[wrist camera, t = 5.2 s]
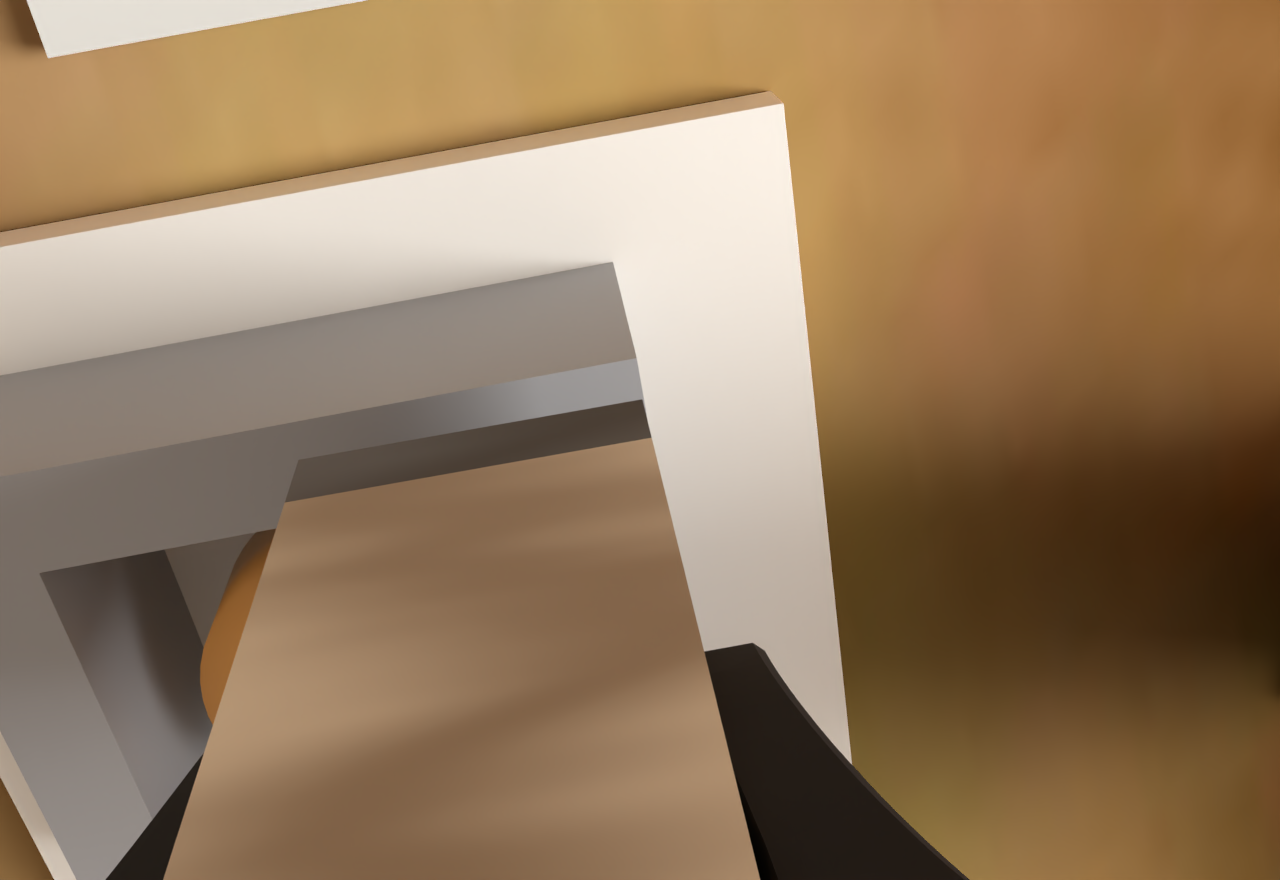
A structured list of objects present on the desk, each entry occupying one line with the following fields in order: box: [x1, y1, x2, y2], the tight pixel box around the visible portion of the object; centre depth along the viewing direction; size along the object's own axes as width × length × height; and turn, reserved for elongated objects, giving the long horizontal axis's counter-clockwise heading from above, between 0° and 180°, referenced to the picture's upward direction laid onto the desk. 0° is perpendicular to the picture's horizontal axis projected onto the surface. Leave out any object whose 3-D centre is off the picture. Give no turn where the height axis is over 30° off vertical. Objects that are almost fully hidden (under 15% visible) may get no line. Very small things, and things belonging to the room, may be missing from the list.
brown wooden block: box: [163, 399, 760, 880], centre depth 11 cm, size 4×4×9 cm
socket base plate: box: [0, 91, 852, 880], centre depth 20 cm, size 16×14×5 cm
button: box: [200, 529, 276, 725], centre depth 20 cm, size 5×5×2 cm
